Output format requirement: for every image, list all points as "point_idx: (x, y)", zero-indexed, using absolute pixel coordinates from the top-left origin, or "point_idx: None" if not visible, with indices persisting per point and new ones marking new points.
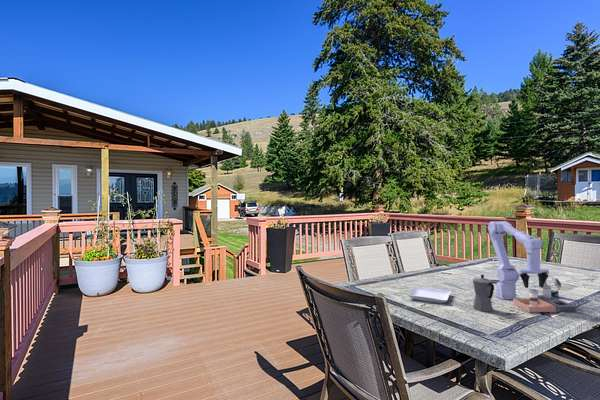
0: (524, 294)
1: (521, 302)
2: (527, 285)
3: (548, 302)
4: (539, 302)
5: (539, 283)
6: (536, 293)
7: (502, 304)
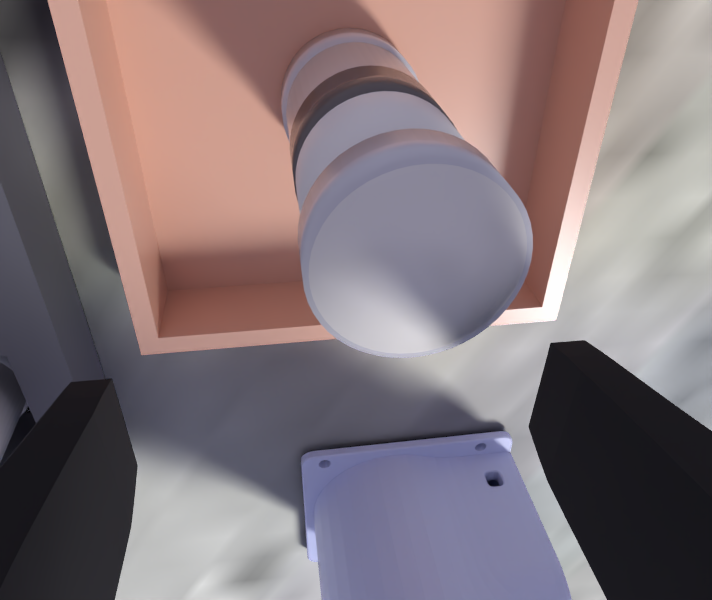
0: (144, 585)
1: (586, 133)
2: (628, 382)
3: (17, 214)
4: (155, 271)
5: (112, 556)
6: (395, 132)
7: (661, 265)
